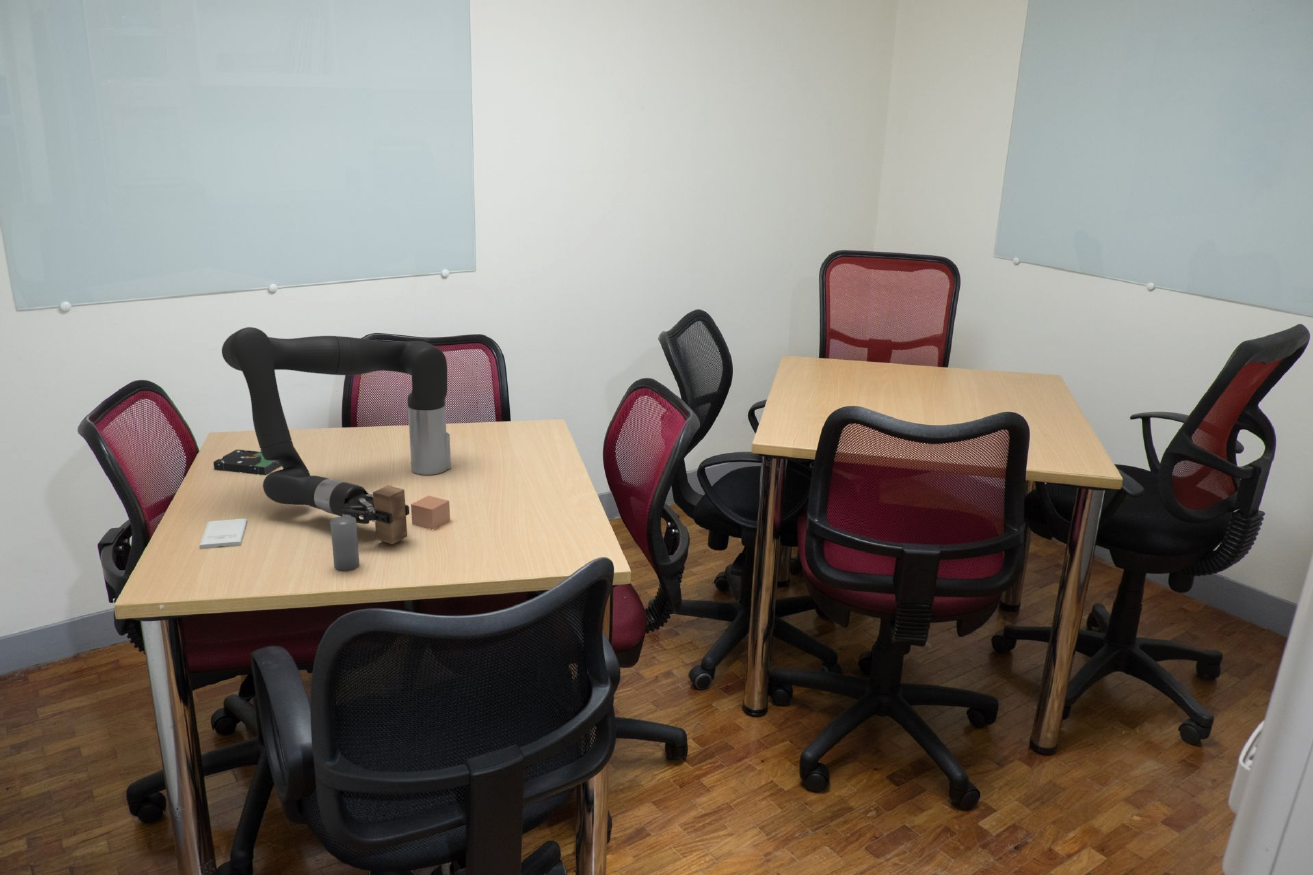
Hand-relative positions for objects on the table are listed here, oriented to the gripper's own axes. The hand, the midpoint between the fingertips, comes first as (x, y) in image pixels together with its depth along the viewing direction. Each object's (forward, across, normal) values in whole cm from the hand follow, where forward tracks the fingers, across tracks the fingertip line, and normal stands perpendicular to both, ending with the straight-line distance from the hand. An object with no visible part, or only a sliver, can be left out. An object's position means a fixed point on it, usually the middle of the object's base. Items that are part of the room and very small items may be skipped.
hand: (399, 514), depth 214 cm
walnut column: (-3, 0, +6) cm, 7 cm away
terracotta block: (-3, +13, +7) cm, 15 cm away
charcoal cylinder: (-3, -13, +7) cm, 15 cm away
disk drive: (-65, +16, +8) cm, 68 cm away
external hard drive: (-36, -16, +8) cm, 40 cm away
